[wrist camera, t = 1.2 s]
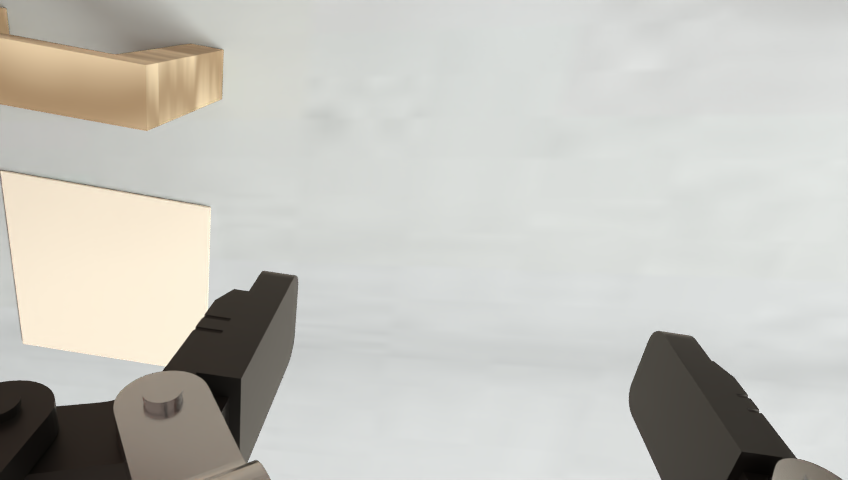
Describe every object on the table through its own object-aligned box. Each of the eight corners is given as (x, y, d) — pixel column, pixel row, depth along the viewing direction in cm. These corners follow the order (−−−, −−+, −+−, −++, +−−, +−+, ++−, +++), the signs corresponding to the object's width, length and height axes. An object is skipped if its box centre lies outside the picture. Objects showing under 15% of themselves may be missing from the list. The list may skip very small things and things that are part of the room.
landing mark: (2, 170, 36) (0, 171, 36) (210, 207, 37) (209, 208, 37) (24, 342, 42) (23, 343, 42) (206, 371, 43) (205, 372, 43)
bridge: (-28, 1, 32) (-205, -1, 23) (223, 49, 33) (145, 65, 24) (-21, 53, 34) (-186, 70, 25) (221, 99, 34) (147, 130, 25)
